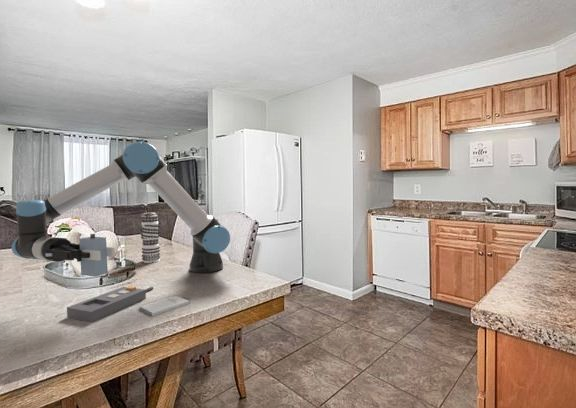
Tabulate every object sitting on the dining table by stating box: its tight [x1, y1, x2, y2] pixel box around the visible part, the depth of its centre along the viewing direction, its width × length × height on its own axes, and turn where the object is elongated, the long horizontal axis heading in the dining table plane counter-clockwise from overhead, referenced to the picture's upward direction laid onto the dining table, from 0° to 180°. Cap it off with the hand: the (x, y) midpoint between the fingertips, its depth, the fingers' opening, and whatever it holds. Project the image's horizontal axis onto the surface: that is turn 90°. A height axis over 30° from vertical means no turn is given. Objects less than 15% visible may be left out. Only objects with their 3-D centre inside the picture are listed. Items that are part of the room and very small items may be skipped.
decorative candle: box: [139, 211, 161, 264], centre depth 161 cm, size 9×9×25 cm
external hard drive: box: [139, 295, 190, 317], centre depth 100 cm, size 2×8×12 cm
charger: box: [78, 233, 109, 278], centre depth 95 cm, size 4×6×12 cm, turn 70°
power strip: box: [66, 285, 154, 323], centre depth 104 cm, size 28×10×4 cm, turn 160°
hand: (106, 253), depth 93 cm, fingers closed on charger, 4 cm apart
